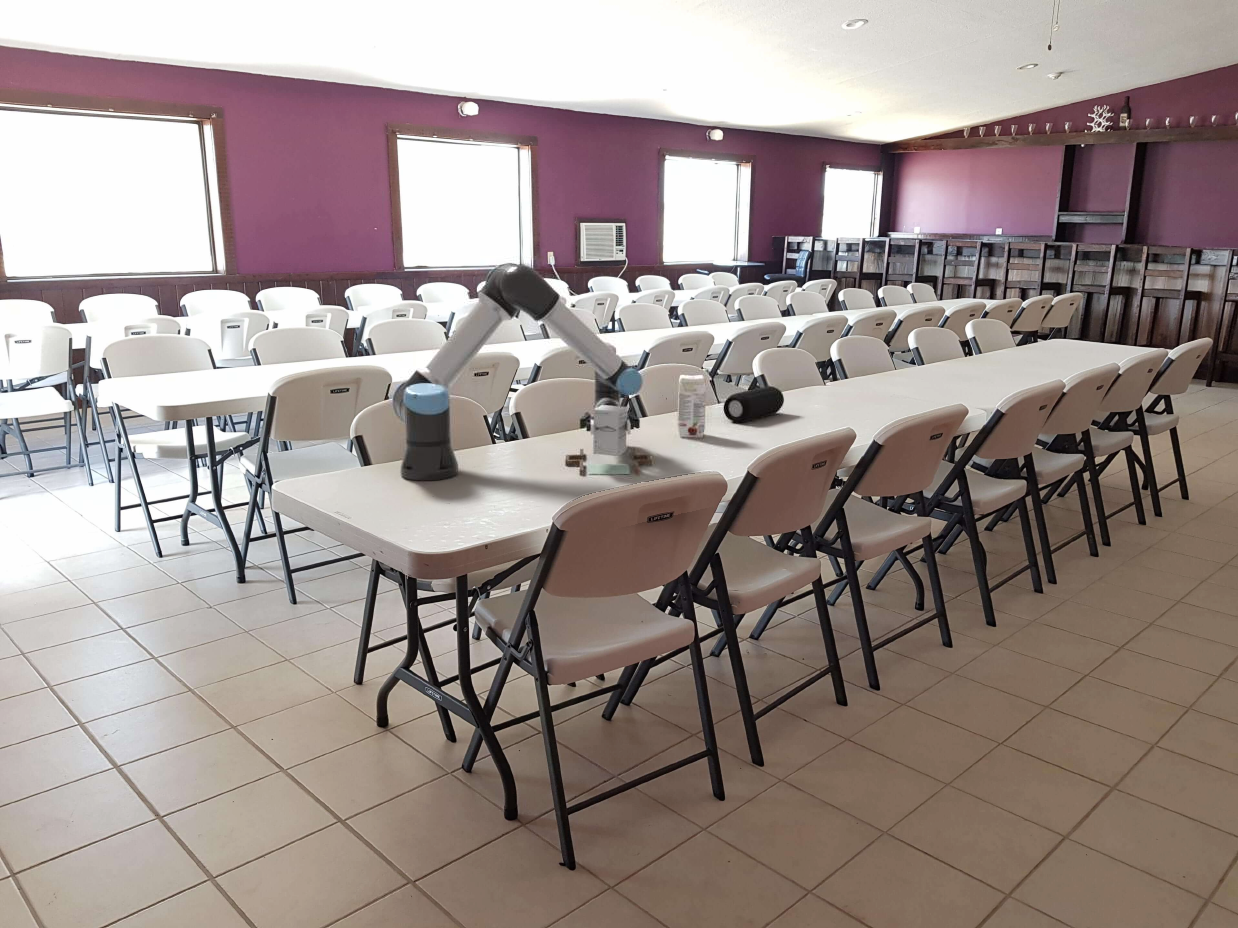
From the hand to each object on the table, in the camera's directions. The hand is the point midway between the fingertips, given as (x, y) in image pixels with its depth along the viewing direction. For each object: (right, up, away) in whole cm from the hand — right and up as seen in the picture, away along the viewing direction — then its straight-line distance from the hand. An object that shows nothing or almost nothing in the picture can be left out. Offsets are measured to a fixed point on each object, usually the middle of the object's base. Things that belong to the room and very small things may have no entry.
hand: (610, 429), depth 253 cm
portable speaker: (+49, +6, +75) cm, 90 cm away
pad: (0, -11, +5) cm, 12 cm away
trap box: (-1, -9, +12) cm, 15 cm away
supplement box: (0, -6, +6) cm, 9 cm away
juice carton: (+25, 0, +47) cm, 54 cm away
